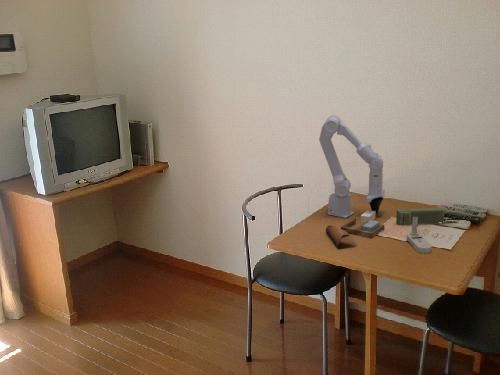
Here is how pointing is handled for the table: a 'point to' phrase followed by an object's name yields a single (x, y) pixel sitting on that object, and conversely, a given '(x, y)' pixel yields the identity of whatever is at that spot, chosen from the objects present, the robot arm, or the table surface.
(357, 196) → the table surface
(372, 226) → the light blue block
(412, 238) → the electronic device
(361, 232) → the rack
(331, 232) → the sunglasses case
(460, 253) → the table surface
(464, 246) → the table surface
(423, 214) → the handheld radio
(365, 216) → the cream rectangular block
